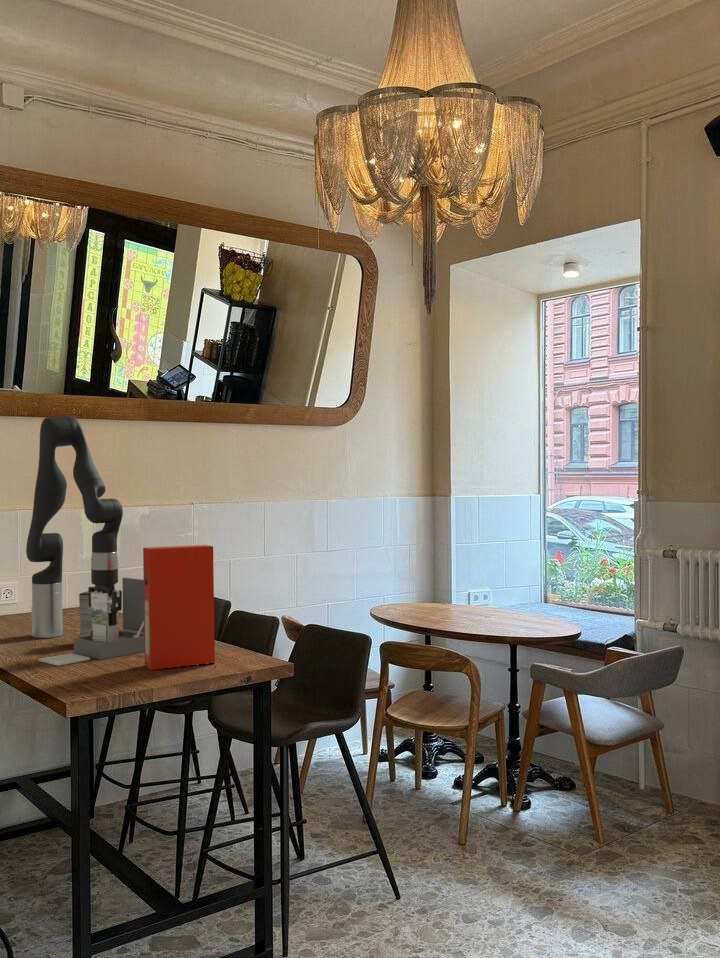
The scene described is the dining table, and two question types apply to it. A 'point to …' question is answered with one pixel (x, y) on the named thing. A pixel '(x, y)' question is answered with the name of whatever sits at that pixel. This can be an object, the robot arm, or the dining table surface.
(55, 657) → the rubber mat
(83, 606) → the coffee box
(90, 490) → the robot arm
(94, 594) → the syrup box
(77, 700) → the dining table surface
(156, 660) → the file binder
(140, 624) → the case
